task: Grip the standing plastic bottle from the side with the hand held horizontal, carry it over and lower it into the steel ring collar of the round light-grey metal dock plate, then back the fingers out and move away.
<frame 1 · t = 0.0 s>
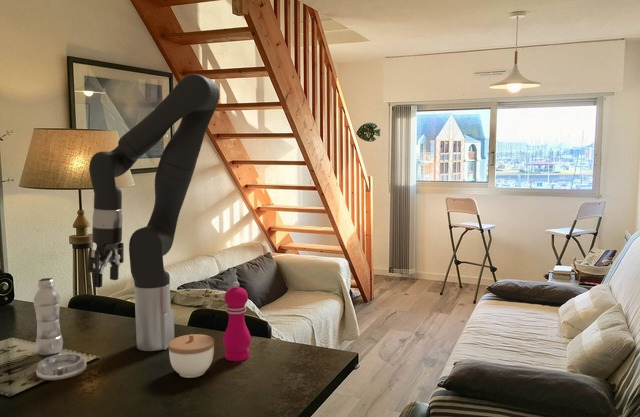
hand: (106, 283, 146), 17 cm above the table, tool pointing down, fingers open, 8 cm apart
plastic bottle: (50, 354, 140), on the table
pepper mill: (237, 357, 138), on the table
dock: (61, 370, 129), on the table
lidded jar: (192, 373, 128), on the table
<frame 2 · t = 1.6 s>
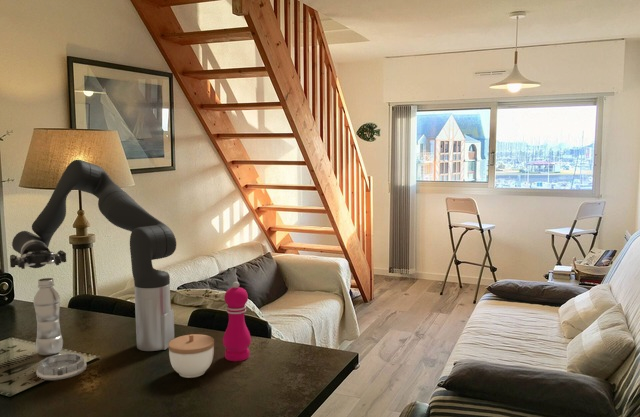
hand: (40, 263, 147), 22 cm above the table, tool horizontal, fingers open, 8 cm apart
nothing on the table moved.
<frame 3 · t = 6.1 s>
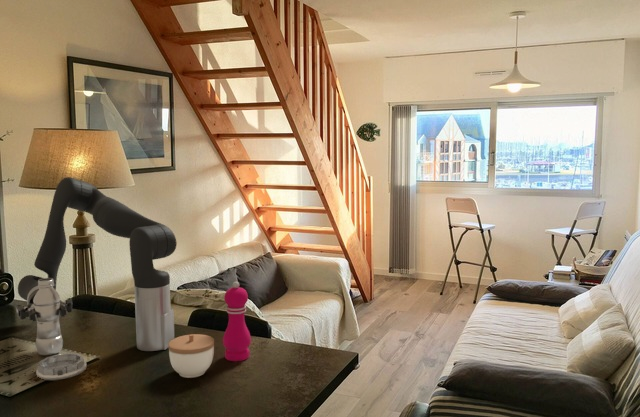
hand: (48, 315, 137), 11 cm above the table, tool horizontal, fingers closed on plastic bottle, 6 cm apart
plastic bottle: (50, 354, 140), on the table, touching gripper
everything else where it was.
when the fingers open (12 cm above the table, at t = 10.3 s): plastic bottle stays where it is, resting on dock.
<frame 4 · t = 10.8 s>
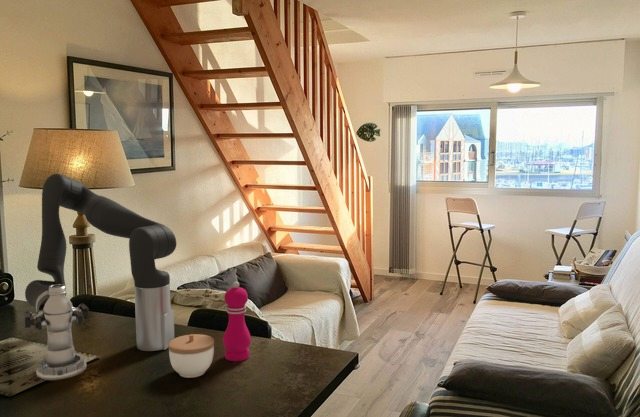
hand: (60, 322, 126), 13 cm above the table, tool horizontal, fingers open, 8 cm apart
plastic bottle: (61, 367, 129), point 1 cm above the table, touching dock
everything else where it was.
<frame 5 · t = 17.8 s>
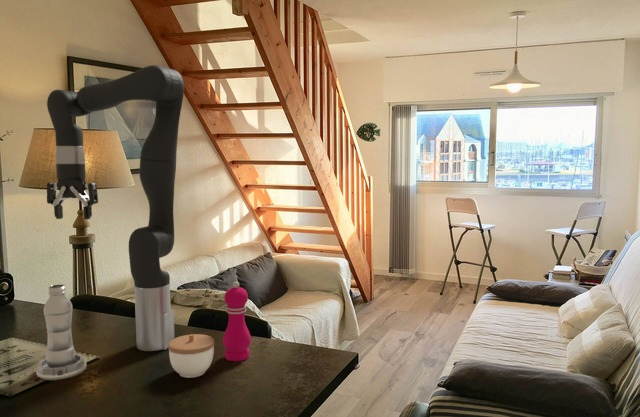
hand: (73, 219, 151), 34 cm above the table, tool pointing down, fingers open, 8 cm apart
nothing on the table moved.
at the end: plastic bottle 0.2 cm off-centre on the dock, point 0.8 cm above the dock's base; plastic bottle tilted 0°; the gripper is holding nothing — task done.
